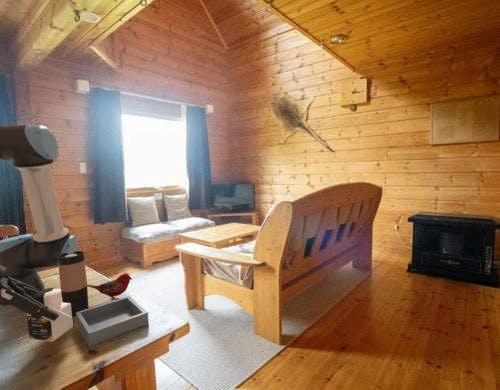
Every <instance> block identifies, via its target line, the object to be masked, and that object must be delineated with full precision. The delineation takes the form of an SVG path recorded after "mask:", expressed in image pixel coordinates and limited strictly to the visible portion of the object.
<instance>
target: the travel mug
mask: <svg viewBox="0 0 500 390" xmlns="http://www.w3.org/2000/svg"><path fill="white" fill-rule="evenodd" d="M58 265H59V267H58V274H59V284H60V285H59V286H60V290H61V294H62V303H71V311H72V318H74V317H76V312H79V311H82V310H85V309H89V292H88V286H87V285H88V281H87V280H88V279H87V272H86V271H87V269H86V261H85V253H84V251H82V250H78V251H75V252H74V253H71V254H67V253H63V254H61V255H59V256H58Z"/></svg>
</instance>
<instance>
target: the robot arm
mask: <svg viewBox="0 0 500 390" xmlns="http://www.w3.org/2000/svg"><path fill="white" fill-rule="evenodd" d="M58 150H59V146H58V142H57V139H56V136H55V135H54V134H53V132H52V131H51V130H50V128H48V127H46V126H45V125H40V124H39V125H37V124H13V125H12V124H11V125H10V124H9V125H8V124H7V125H0V161H12V165H13V168H15V169H17V170H18V171H20V174H21V178H22V181H23V185H24V189H25V193H26V196H27V201H28V205H29V208H30V211H31V212H30V213H31V216H32V220H33V223H34V226H35V227H34V229H35V231H36V233H35V234H33V233H26V234H25V233H24V234H20V235H17V236H16V235H15V236H11V237H8V238H5V239H2V240H0V305H10V306H13V307H14V308H16V309H18V310H20V311H22V312H24V313H26V314H29V315H31V316H33V317H35V318H36V320H39V319H40V318H41V317H42V318H44V319H46V320H49V321H51V322H53V323H55V324H58V325H60V326H62V327H65V325H66V324H67V323H68V322H69V320H70V319H71V318H72V319H73V317H71V316H69V315H67V314H65V313H62V312H60V311H58V310H56V309H54V308H52V307H50V306H48V307H47V306H45V305H43V304H42V303H40V302H38V301H37V300H35V299H34V295H35V294H36V293H37V292H39V291H41V290H43V289H46V288H45V283H44V281H43V280H42V278H41V276H40V274H39V272H38V269H42V268H56V267H58V268H59V265H58V256H59V255H61V254H63V253H67V254H71V253H74V252H75V251H79V250H78V249H79V240H78V237H77V236H76V235H73V234H70V230H69V229H68V228H67V227H65V226H64V224H63V223H64V222H63V220H62V216H61V210H60V205H59V202H58V197H57V192H56V188H55V184H54V179H53V175H52V171H51V167H52V166H53V164H54V159H56V158H57V157H58V154H59V151H58ZM39 310H40V311H39ZM38 311H39V312H38Z"/></svg>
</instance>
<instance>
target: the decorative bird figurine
mask: <svg viewBox="0 0 500 390" xmlns="http://www.w3.org/2000/svg"><path fill="white" fill-rule="evenodd" d="M131 280H133V278H132V277H131V276H130V274H129V273H127V272H125V273H122V274H120V275H119V276H118V277H117V278H115V279H113V280H109V281H106V282H103V283H101V284H99V285H94V284H87V288H92V289H95V290H97V291H98V292H99V293H101V294H102V295H105V296H108V297H109V300H111V301H115V300H118V299H120V298H119V297H118V296H120V295H122V294H124V293H125V291H127V289H128V288H129V287H128V286H129V284H130V282H131ZM109 300H108V301H109Z"/></svg>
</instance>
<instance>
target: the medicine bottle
mask: <svg viewBox="0 0 500 390" xmlns="http://www.w3.org/2000/svg"><path fill="white" fill-rule="evenodd" d="M34 299H35V300H37V301H38V302H40V303H42V304H43V305H45V306H47V307H48V306H50V307H52V308H54V309H56V310H58V311H60V312H62V313H65V314H67V315H69V316H71V317H72V311H71V303H63V302H62V294H61V288H60V287H48V288H45V289H43V290H41V291H39V292H37V293H36V294H35V295H34ZM39 311H40V310H39ZM39 311H38V312H39ZM26 319H27V329H28V335H29V340H32V341H42V342H55V341H56V340H57V339H58V338H60V337H61V336H63V335H64V334H65V333H66V332H68V331H70V330H71V329H72V328H74V322H73V317H72V318H71V319H70V320H69V322H68V323H67V324H66V325H65V327H62V326H60V325H58V324H55V323H53V322H51V321H49V320H46V319H44V318H42V317H41V318H40V319H39V320H36V318H35V317H33V316H31V315H29V314H28V313H26Z"/></svg>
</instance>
